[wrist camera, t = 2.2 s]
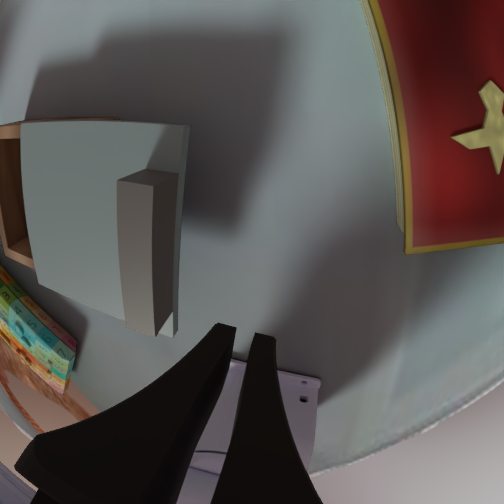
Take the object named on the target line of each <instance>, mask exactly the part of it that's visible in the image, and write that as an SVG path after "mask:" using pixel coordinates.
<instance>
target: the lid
mask: <svg viewBox="0 0 504 504" xmlns="http://www.w3.org/2000/svg"><path fill="white" fill-rule="evenodd" d="M190 128H191V126H190V125H180V124H169V123H157V122H142V121H122V120H54V121H35V122H26V123H21V173H22V187H23V198H24V207H25V215H26V222H27V229H28V235H29V241H30V246H31V251H32V256H33V261H34V266H35V270H36V274H37V279H38V283H39V284H40V285H42V286H44V287H46V288H49V289H51V290H53V291H55V292H57V293H59V294H61V295H64V296H66V297H68V298H70V299H73V300H75V301H77V302H80V303H82V304H84V305H87V306H89V307H91V308H94V309H96V310H99V311H101V312H103V313H106V314H108V315H111V316H114V317H116V318H119V319H121V320H124V321H125V322H126V327H127V328H130V329H133V330H135V331H138V332H141V333H143V334H146V335H149V336H152V337H156V336H157V334H158V333H160V334H163V335H166V336H169V337H172V338H173V337H174V336H175V334H176V332H177V331H178V288H179V260H180V240H181V223H182V209H183V196H184V184H185V174H186V163H187V154H188V145H189V136H190Z"/></svg>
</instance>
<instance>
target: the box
mask: <svg viewBox="0 0 504 504" xmlns="http://www.w3.org/2000/svg"><path fill="white" fill-rule="evenodd" d="M54 120H120V118H105V117H81V118H51V119H35V120H23V121H18V122H13V123H9V124H4V125H0V234H1V239H2V244H3V248H4V253H5V256H7V257H9V258H11V259H13V260H15V261H17V262H20V263H22V264H24V265H26V266H28V267H30V268H32V269H34V270H35V266H34V261H33V256H32V251H31V246H30V241H29V235H28V229H27V222H26V215H25V207H24V198H23V187H22V173H21V123H26V122H35V121H54Z"/></svg>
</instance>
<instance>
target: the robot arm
mask: <svg viewBox="0 0 504 504" xmlns="http://www.w3.org/2000/svg"><path fill="white" fill-rule="evenodd" d="M235 334H236V327H232V326H229V325H225V324H221V323H217V324H215V325H214V326H213V328H212V329H211V330H210V331H209V332H208V333H207V334H206V336H205V337H204V338H203V339H202V340H201V341H200V342H199V343H198V344H197V345H196V346H195V347H194V348H193V349H192V350H191V351H190V352H189V353H187V354H186V355H185V356H184V357H183V358H182V359H181V360H180V361H179V362H178V363H176V364H175V365H174V366H173V367H172V368H170V369H169V370H168V371H167V372H165V373H164V374H163V375H162V376H160V377H159V378H158V379H156V380H155V381H154V382H152V383H151V384H149V385H148V386H147V387H145V388H144V389H142V390H141V391H139V392H137V393H136V394H134V395H133V396H131V397H129V398H128V399H126V400H124V401H122V402H121V403H119V404H117V405H115V406H113V407H111V408H109V409H107V410H105V411H103V412H101V413H99V414H97V415H94V416H92V417H90V418H87V419H85V420H82V421H80V422H78V423H75V424H72V425H69V426H66V427H63V428H60V429H56V430H53V431H50V432H46V433H42V434H39V435H36V437H35V438H34V439H33V440H32V441H31V442H30V443H29V445H28V446H27V447H26V449H25V450H24V452H23V453H22V455H21V456H20V458H19V459H18V461H17V462H16V464H15V465H14V467H15V470H16V471H17V472H18V473H20V474H21V475H22V476H23V477H24V478H26V479H27V480H28V481H29V482H31V483H32V484H33V485H35V486H36V487H37V488H38V491H37V492H36V491H35V490H33V489H32V488H31V487H29V486H28V485H27V484H26V483H24V482H23V481H22V480H21V479H20V478H18V477H17V476H16V475H15V474H14V473H12V472H11V471H10V470H9V469H8V468H7V467H6V466H5V465H3V464H2V463H1V462H0V504H323V503H322V501H321V499H320V497H319V496H318V494H317V492H316V490H315V488H314V486H313V484H312V482H311V480H310V477H309V475H308V473H307V469H308V466H309V463H310V460H311V456H312V452H313V447H314V440H315V429H316V417H317V403H318V389H319V387H320V386H321V380H320V379H317V378H313V377H307V376H302V375H297V374H293V373H288V372H283V371H279V370H277V363H276V339H275V338H274V337H272V336H268V335H264V334H260V333H256V332H255V335H254V338H253V341H252V344H251V347H250V351H249V356H248V360H247V363H246V362H242V361H238V360H234V359H231V357H232V351H233V345H234V339H235Z"/></svg>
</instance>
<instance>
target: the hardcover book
mask: <svg viewBox="0 0 504 504" xmlns="http://www.w3.org/2000/svg"><path fill="white" fill-rule="evenodd" d="M360 3H361V6H362V9H363V12H364V15H365V18H366V22H367V25H368V29H369V32H370V36H371V40H372V43H373V47H374V51H375V55H376V59H377V64H378V68H379V73H380V77H381V82H382V87H383V93H384V98H385V104H386V110H387V116H388V123H389V130H390V137H391V146H392V155H393V165H394V177H395V191H396V211H397V225H398V226H399V228H400V229H401V231H402V232H403V234H404V253H405V255H408V254H417V253H425V252H434V251H443V250H451V249H460V248H468V247H476V246H484V245H492V244H500V243H504V0H360Z"/></svg>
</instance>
